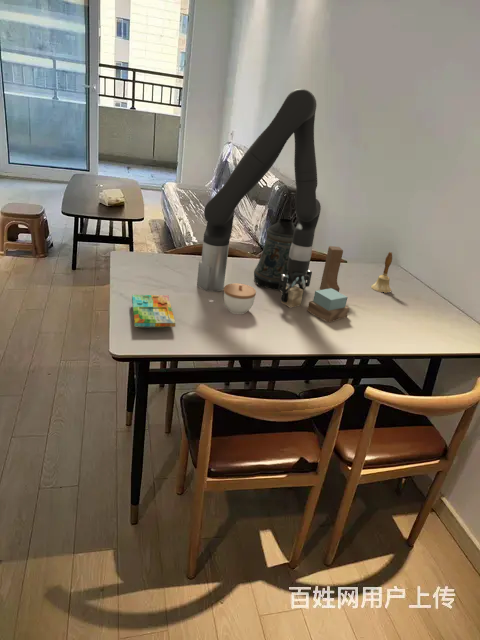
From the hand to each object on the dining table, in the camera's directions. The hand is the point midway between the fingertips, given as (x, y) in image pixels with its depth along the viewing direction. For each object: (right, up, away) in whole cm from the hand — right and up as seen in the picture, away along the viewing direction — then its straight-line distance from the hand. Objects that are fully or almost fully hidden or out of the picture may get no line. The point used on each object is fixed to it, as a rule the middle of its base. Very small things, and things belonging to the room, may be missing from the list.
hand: (291, 299), depth 171 cm
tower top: (+12, -2, -5) cm, 14 cm away
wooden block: (+16, +3, +14) cm, 21 cm away
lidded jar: (-20, -4, -10) cm, 23 cm away
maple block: (0, -1, +1) cm, 2 cm away
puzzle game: (-46, -7, -23) cm, 52 cm away
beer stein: (-5, +8, +19) cm, 22 cm away
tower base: (+12, -5, -3) cm, 14 cm away
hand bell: (+40, +5, +26) cm, 48 cm away
